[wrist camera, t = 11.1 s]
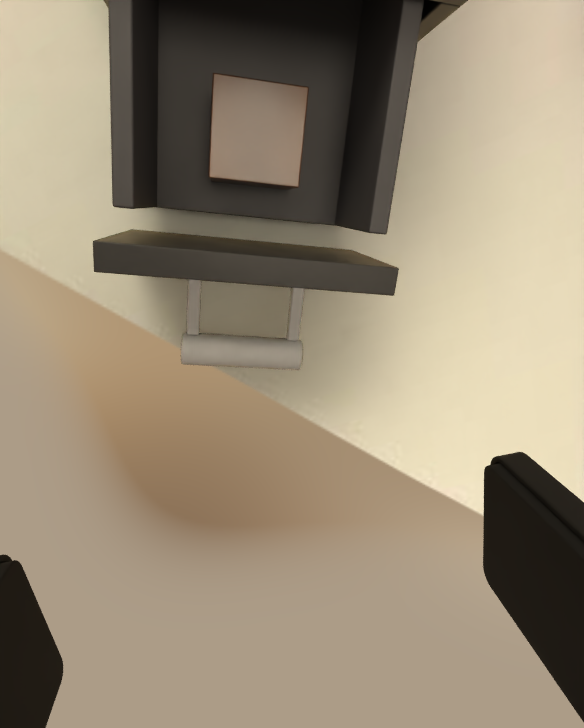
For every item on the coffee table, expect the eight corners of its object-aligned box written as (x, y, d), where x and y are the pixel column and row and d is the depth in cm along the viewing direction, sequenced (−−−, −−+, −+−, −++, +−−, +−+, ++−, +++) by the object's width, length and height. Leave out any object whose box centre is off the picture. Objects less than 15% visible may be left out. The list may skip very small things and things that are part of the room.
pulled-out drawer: (338, 348, 29) (376, 397, 22) (132, 336, 27) (97, 385, 20) (390, -26, 23) (468, -132, 16) (128, -77, 21) (76, -228, 14)
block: (211, 181, 24) (208, 177, 20) (214, 93, 22) (212, 72, 19) (287, 190, 24) (299, 188, 21) (295, 105, 23) (309, 86, 19)
